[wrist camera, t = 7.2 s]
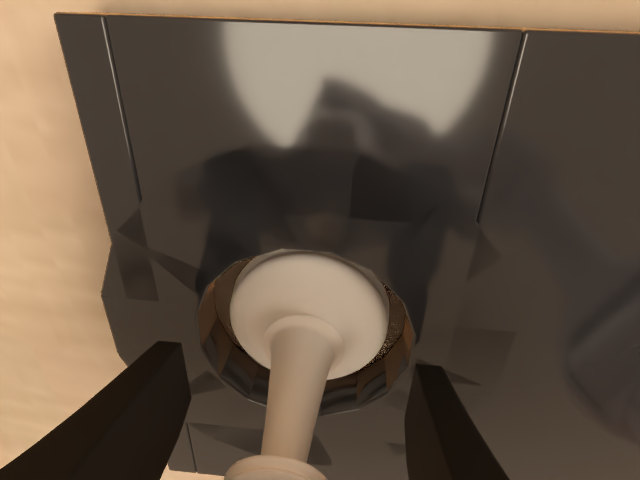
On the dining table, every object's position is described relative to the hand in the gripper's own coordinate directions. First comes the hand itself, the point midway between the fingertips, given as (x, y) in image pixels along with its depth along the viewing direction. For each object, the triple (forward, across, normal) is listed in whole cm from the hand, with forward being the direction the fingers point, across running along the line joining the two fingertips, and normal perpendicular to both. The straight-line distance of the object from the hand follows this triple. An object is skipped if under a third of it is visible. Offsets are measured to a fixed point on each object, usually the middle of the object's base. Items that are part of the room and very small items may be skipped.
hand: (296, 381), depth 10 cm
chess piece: (+3, 0, 0) cm, 3 cm away
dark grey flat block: (+3, -4, 0) cm, 5 cm away
